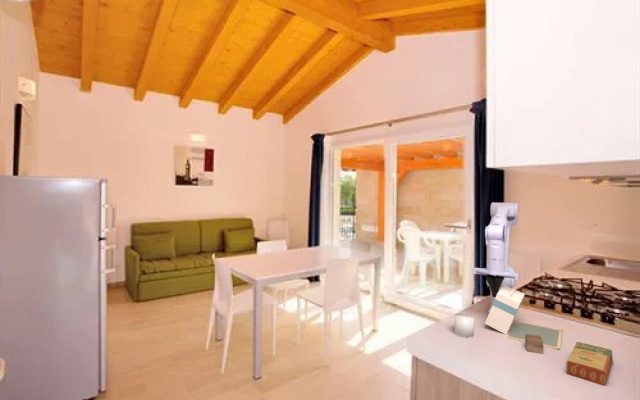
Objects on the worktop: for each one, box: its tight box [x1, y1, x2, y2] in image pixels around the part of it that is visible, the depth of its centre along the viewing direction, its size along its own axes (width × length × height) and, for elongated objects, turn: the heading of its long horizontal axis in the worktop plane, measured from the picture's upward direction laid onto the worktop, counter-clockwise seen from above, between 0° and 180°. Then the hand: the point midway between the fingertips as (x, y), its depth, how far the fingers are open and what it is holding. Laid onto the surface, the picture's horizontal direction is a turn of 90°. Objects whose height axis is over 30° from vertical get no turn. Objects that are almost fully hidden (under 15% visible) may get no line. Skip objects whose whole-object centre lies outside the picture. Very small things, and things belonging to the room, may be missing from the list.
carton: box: [566, 341, 614, 387], centre depth 93 cm, size 8×16×4 cm, turn 135°
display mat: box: [507, 320, 563, 351], centre depth 114 cm, size 17×14×1 cm
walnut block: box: [524, 334, 544, 355], centre depth 104 cm, size 4×4×4 cm
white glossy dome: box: [453, 312, 475, 339], centre depth 115 cm, size 6×6×6 cm
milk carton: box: [484, 285, 526, 335], centre depth 120 cm, size 12×7×13 cm, turn 143°
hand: (495, 296), depth 122 cm, fingers closed
